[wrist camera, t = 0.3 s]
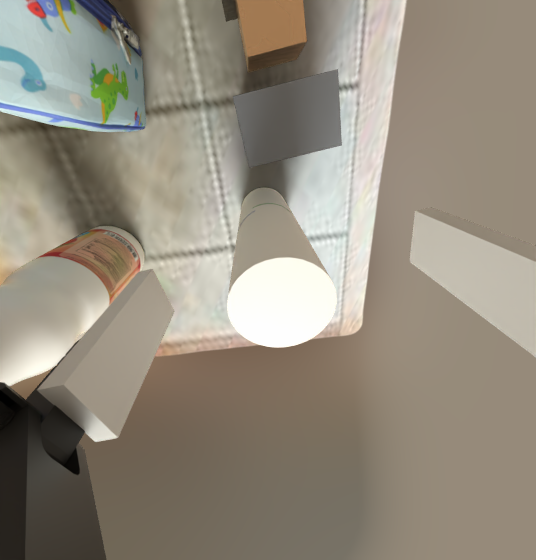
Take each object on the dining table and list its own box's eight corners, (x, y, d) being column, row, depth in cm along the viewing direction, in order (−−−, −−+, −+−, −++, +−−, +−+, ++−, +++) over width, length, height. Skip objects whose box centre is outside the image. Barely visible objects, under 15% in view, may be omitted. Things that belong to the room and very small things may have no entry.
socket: (239, 113, 31) (232, 96, 20) (306, 95, 30) (337, 69, 19) (249, 159, 33) (249, 167, 23) (311, 144, 33) (341, 145, 22)
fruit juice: (143, 283, 42) (-3, 473, 18) (84, 268, 40) (-171, 461, 16) (149, 235, 38) (-30, 398, 14) (84, 215, 36) (-264, 367, 12)
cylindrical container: (231, 209, 37) (203, 304, 15) (267, 176, 35) (293, 232, 13) (261, 242, 40) (274, 361, 18) (296, 214, 38) (356, 310, 16)
